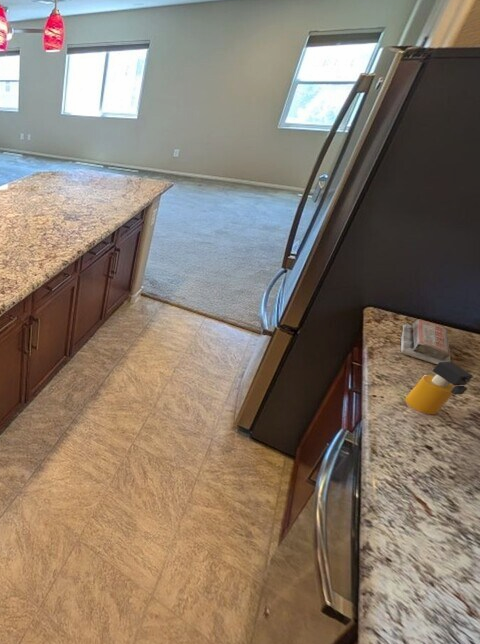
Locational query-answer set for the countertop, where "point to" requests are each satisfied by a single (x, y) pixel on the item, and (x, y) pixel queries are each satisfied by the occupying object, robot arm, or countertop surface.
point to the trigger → (459, 390)
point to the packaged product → (425, 341)
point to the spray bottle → (437, 387)
